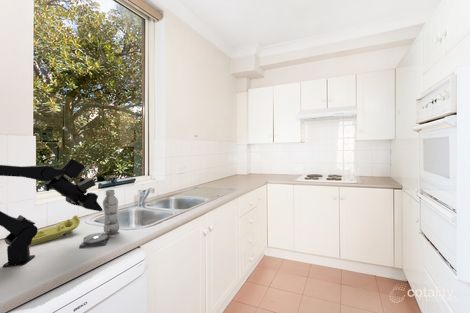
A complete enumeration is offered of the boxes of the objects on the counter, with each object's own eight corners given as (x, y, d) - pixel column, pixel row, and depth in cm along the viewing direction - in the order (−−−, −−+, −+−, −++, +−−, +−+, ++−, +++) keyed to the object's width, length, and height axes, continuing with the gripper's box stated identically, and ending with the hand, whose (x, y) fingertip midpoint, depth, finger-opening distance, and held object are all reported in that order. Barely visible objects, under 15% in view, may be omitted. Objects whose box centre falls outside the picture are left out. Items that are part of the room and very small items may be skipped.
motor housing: (104, 245, 98) (104, 239, 98) (79, 248, 96) (79, 241, 96) (110, 237, 107) (109, 231, 107) (87, 239, 104) (87, 233, 104)
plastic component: (27, 241, 98) (22, 226, 103) (29, 254, 101) (24, 239, 106) (82, 225, 112) (75, 213, 118) (82, 237, 115) (75, 224, 121)
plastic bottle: (116, 229, 116) (114, 188, 115) (121, 233, 111) (119, 190, 110) (101, 233, 112) (100, 190, 111) (106, 237, 107) (104, 192, 106)
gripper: (91, 173, 95) (119, 196, 105) (72, 171, 106) (99, 191, 116) (69, 197, 89) (102, 218, 99) (51, 192, 100) (82, 211, 110)
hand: (96, 208), depth 106 cm, fingers open, 9 cm apart
